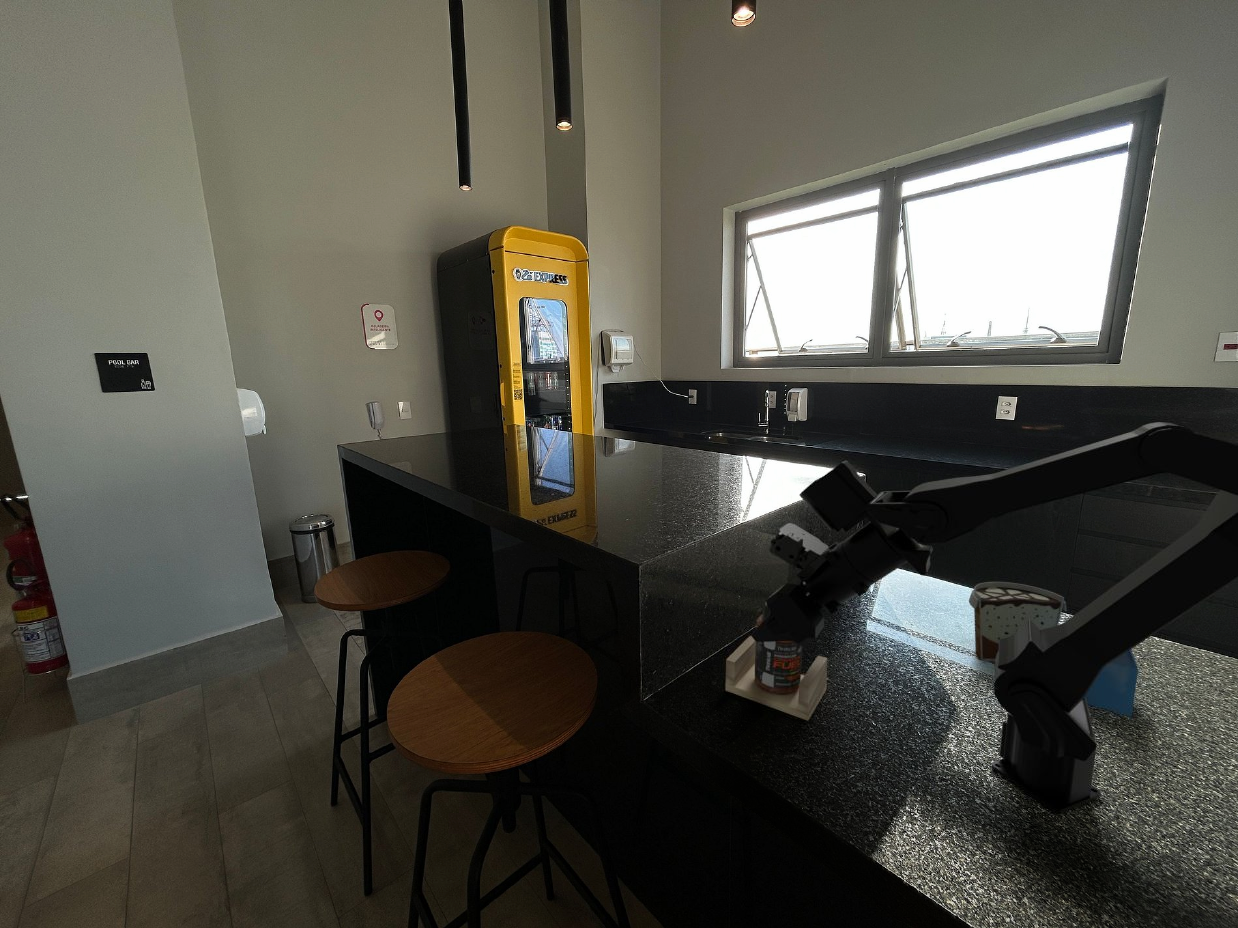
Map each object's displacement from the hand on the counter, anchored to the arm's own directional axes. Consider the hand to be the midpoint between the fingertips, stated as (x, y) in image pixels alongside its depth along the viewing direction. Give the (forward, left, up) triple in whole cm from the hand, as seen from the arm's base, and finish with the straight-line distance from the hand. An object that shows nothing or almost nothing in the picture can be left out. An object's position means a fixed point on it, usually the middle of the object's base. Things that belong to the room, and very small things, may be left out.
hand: (767, 624), depth 69 cm
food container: (-4, -39, -9) cm, 40 cm away
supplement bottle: (-1, -1, -8) cm, 8 cm away
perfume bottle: (-16, -39, -9) cm, 43 cm away
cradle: (-1, -1, -9) cm, 9 cm away
